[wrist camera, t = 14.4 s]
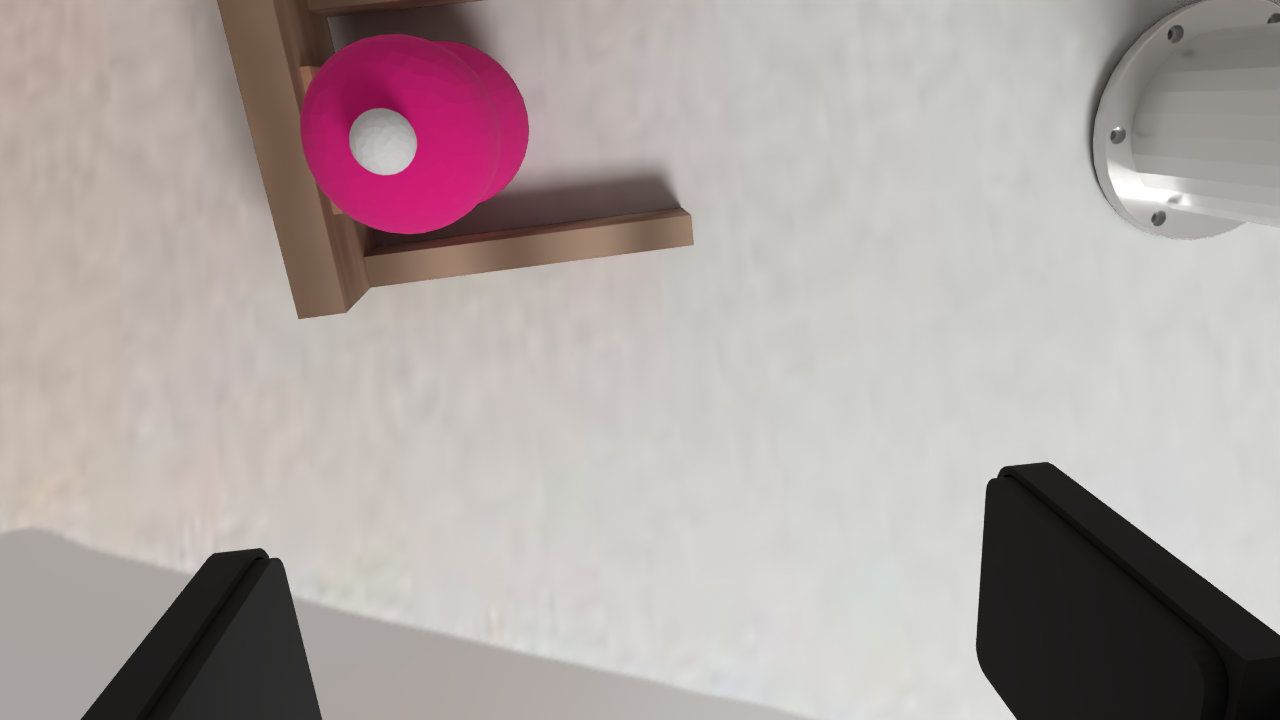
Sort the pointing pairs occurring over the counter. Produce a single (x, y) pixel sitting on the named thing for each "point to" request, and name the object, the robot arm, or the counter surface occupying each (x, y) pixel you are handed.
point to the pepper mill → (412, 131)
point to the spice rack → (328, 237)
